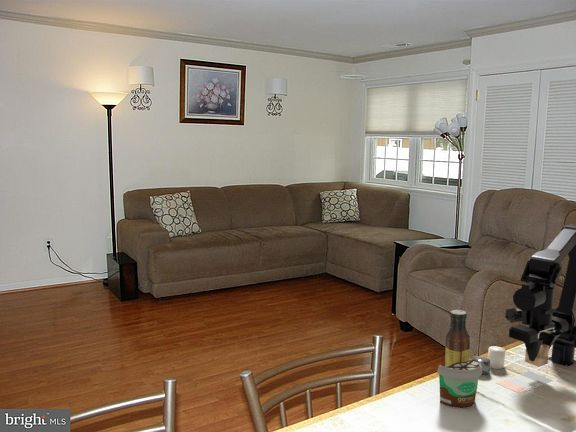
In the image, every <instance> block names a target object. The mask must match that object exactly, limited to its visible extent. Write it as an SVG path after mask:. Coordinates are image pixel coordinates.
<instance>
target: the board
mask: <svg viewBox="0 0 576 432" xmlns="http://www.w3.org/2000/svg"><path fill="white" fill-rule="evenodd" d="M553 381H554V380H553V379H552V378H549V377H546V376H544V375H541V374H539V373H537V372H533V371H531V370H527V371H524V372H521V373H518V374H516V375H514V376H511V377H509V378H506V379H503V380H499V381H498V382H496V384H497V385H498V386H502V387H503V388H506V389H508V390H510V391H513V392H515V393H517V394H519V395H521V394H523V393H526V392H528V391H529V392H530V391H531V390H533V389H536V388H538V387H541V386H543V385H546V384H547V383H550V382H553Z"/></svg>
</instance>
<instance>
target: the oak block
mask: <svg viewBox="0 0 576 432" xmlns="http://www.w3.org/2000/svg"><path fill="white" fill-rule="evenodd" d="M549 351H550V349H549V346H548V345H545V344H541V347H540V349H539V351H538V354H537V356H536V358H535V360H534V361H533V362H532V361H530V360H529V357H528V353H527V350H526V349H525V355H524V356H525V359H524V362H525V363H527V364H530V365H533V366H535V367H538V368H540V367H542V366H545V365H548V363H549V360H548V358H549V354H550V353H549Z"/></svg>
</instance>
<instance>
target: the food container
mask: <svg viewBox="0 0 576 432" xmlns="http://www.w3.org/2000/svg"><path fill="white" fill-rule="evenodd" d="M472 357H473V358H472ZM472 357H471V358H472V360H471V359H470V361H467V362H457V363H454V364H452V365H450V366H447V367H445V365H444V366H443V365H441V364H438V367H437V372H436V373H437V374H438V375H439V376H438V378H439V382H438V383H439V403H441V404H442V405H444V406H447V407H449V408H455V409H467V408H471V407H473V406H474V405H475V403H476V397H477V391H478V384H479V383H478V382H479V378H480V377H481V376H482V375H481V374H482V367H481V364H480V361H479V360H478V359H477V358H475V357H474V356H472Z"/></svg>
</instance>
